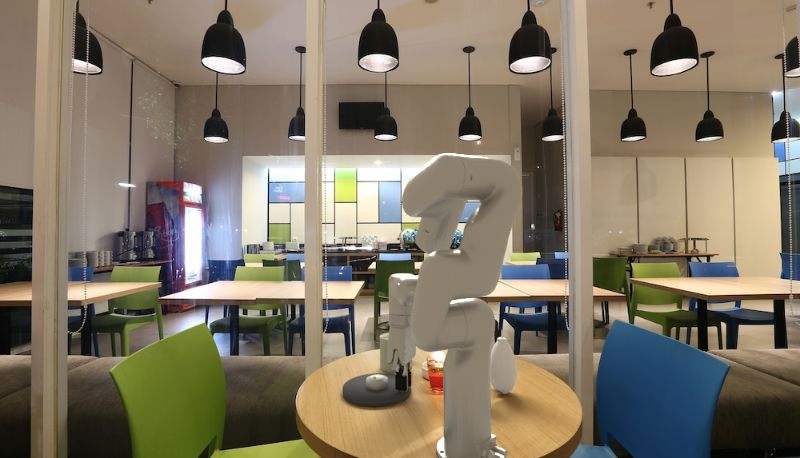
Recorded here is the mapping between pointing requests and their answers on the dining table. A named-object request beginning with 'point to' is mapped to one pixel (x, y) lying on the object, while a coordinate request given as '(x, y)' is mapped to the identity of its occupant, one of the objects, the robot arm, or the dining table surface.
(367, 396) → the wheel
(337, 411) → the dining table surface
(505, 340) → the sauce bottle
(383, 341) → the can
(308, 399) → the dining table surface
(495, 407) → the dining table surface
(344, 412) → the dining table surface
